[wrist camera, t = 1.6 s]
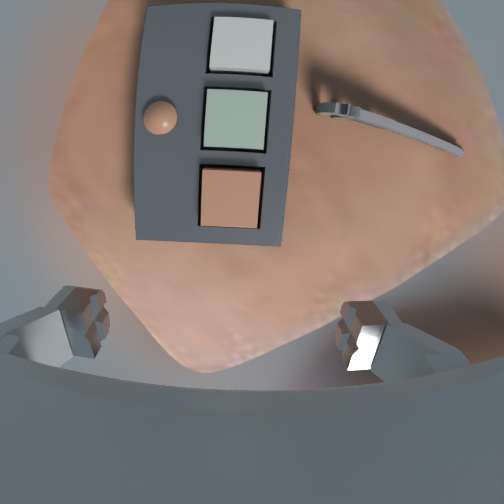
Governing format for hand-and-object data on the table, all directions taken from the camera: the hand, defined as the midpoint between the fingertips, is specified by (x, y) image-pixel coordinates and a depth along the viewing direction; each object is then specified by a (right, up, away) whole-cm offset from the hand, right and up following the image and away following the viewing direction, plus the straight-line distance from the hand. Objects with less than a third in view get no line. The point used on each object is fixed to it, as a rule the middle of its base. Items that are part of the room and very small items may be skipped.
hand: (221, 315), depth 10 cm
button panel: (-3, +15, +18) cm, 24 cm away
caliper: (+17, +16, +19) cm, 30 cm away
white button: (0, +21, +14) cm, 25 cm away
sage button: (-1, +14, +16) cm, 22 cm away
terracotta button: (-1, +8, +19) cm, 21 cm away
